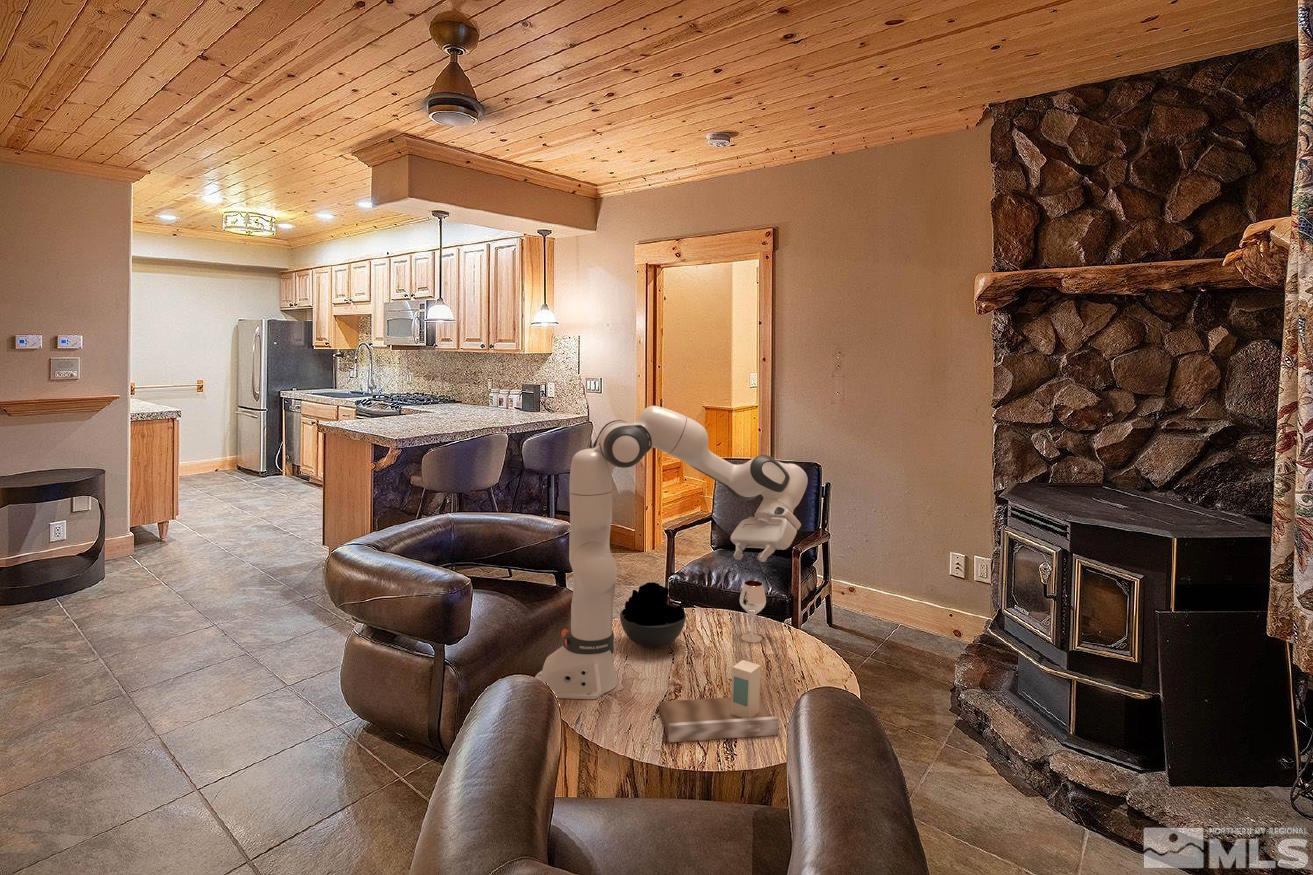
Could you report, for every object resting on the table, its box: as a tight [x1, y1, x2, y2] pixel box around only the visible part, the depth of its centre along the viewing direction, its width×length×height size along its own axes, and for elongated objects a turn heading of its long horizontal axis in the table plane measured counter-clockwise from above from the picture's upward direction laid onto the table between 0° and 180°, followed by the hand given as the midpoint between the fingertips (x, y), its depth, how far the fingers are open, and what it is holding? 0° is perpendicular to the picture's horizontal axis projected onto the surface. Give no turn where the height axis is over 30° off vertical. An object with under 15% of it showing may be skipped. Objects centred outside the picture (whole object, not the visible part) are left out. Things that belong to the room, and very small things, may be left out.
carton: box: [731, 659, 762, 718], centre depth 170 cm, size 5×5×12 cm
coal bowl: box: [619, 581, 687, 650], centre depth 212 cm, size 20×20×19 cm
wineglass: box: [739, 580, 767, 644], centre depth 219 cm, size 8×8×18 cm
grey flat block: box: [658, 696, 779, 743], centre depth 170 cm, size 26×16×4 cm, turn 99°
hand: (748, 559), depth 181 cm, fingers open, 8 cm apart
